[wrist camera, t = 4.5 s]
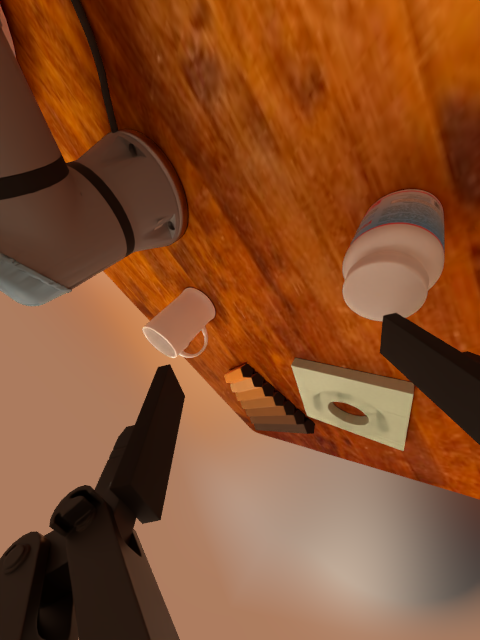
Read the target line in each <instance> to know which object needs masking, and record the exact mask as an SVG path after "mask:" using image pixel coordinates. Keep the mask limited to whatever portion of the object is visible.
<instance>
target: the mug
mask: <svg viewBox="0 0 480 640" xmlns="http://www.w3.org/2000/svg"><path fill="white" fill-rule="evenodd" d="M214 317H215V308H214V306H213V304H212V302H211V301H210V299H209V298H208V297H207V296H206V295H205V294H204V293H202V292H201V291H199V290H197V289H195V288H186V289H185V290H184V291H183V292H182V294H181V295H180V296H178V297H177V298H176V299H175V300H174V301H173V302H172V303H170V304H169V305H168V306H167V307H166V308H165V309H164V310H162V311H161V312H160V313H159V314H158V315H157V316H155V317H154V318H153V319H152V320H151V321H150V322H149V323H147V324H146V325H145V326H144V327H143V333H144V335H145V337H146V338H147V339H148V341H149V342H150V343H151V344H152V345H153V346H154V347H155V348H156V349H158V350H159V351H160V352H161V353H163V354H165V355H166V356H168V357H171V358H176V357H177V356H178V355H180V356H183V357H186V358H192V357H196V356H198V355H200V354H201V353H202V352H203V351H204V350H205V348H206V346H207V343H208V333H207V330H206V328H205V325H206V324H207V323H208V322H209V321H210V320H212V319H213V318H214ZM200 331H202V332H203V334H204V338H205V342H204V346H203V348H202V349H201V351H199V352H198V353H196V354H188V353H186V352H184V351H183V349H184V348H185V347H186V346H187V345H188V344H189V343H190V341H191V340H192V339H193V338H194V337H195V336H196V335H197V334H198V333H199V332H200Z"/></svg>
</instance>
